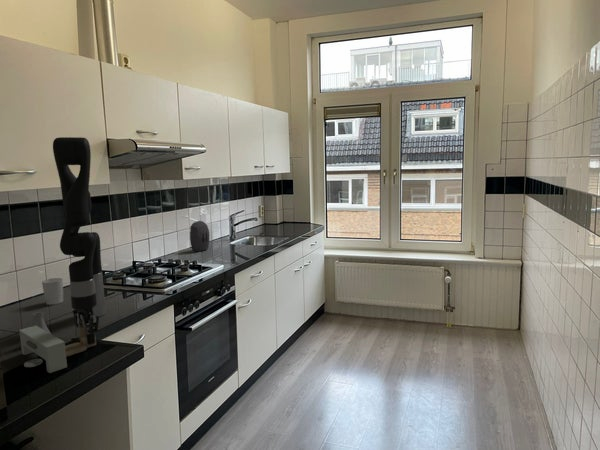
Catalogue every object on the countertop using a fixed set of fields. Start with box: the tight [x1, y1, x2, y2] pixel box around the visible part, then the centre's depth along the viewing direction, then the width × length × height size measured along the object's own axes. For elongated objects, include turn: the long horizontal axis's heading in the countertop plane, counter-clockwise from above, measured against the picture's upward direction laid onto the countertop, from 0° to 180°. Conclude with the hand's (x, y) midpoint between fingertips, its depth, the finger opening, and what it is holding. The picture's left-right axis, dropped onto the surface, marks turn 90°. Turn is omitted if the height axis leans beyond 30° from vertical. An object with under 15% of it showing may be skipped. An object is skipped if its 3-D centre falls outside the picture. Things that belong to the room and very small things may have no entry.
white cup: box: [41, 277, 64, 306], centre depth 202 cm, size 8×8×10 cm
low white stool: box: [18, 325, 68, 374], centre depth 144 cm, size 22×6×8 cm, turn 49°
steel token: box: [23, 358, 44, 368], centre depth 142 cm, size 5×5×1 cm
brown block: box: [65, 323, 97, 358], centre depth 151 cm, size 6×12×7 cm, turn 139°
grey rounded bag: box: [189, 220, 210, 252], centre depth 304 cm, size 15×8×20 cm, turn 150°
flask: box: [32, 311, 52, 334], centre depth 159 cm, size 7×7×10 cm
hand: (88, 341), depth 155 cm, fingers open, 4 cm apart
